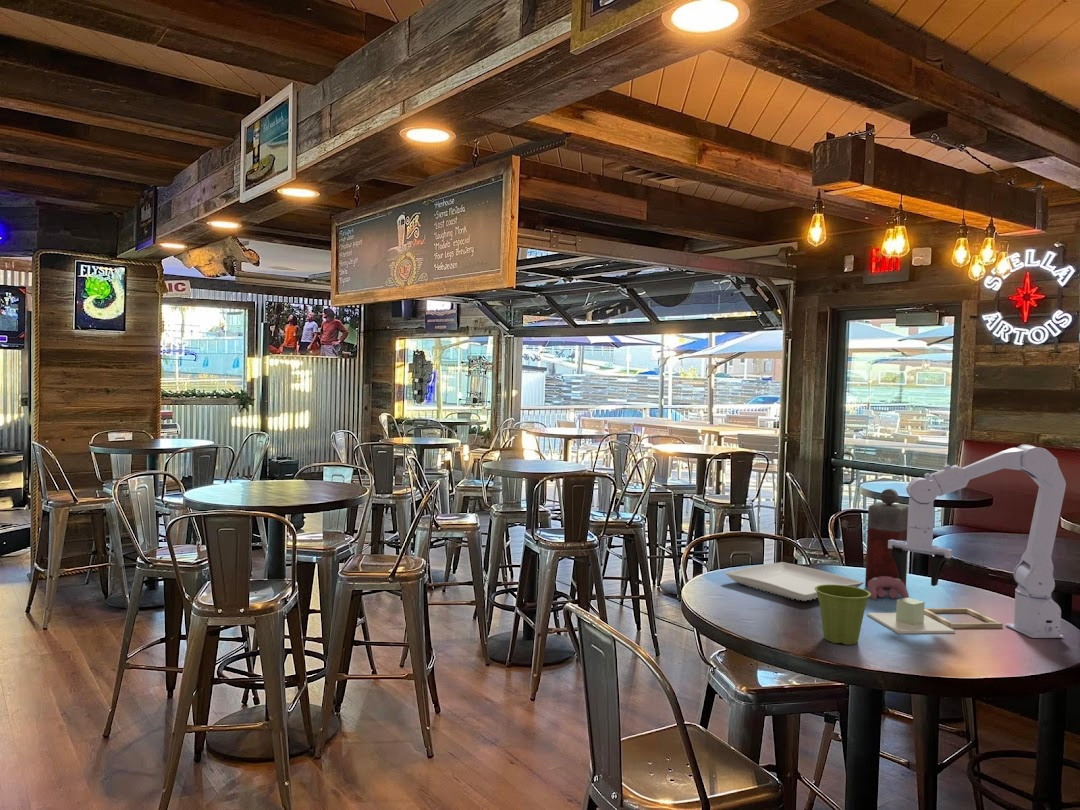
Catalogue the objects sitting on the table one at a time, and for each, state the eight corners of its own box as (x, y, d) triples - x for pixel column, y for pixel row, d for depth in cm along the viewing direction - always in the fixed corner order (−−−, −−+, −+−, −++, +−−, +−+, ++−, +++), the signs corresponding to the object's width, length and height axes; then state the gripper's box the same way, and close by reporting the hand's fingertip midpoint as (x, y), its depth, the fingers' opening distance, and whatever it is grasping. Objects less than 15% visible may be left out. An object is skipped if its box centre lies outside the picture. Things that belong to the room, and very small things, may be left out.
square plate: (805, 608, 204) (806, 593, 204) (722, 584, 226) (723, 571, 225) (864, 593, 220) (864, 579, 220) (781, 572, 242) (782, 559, 242)
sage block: (923, 622, 191) (924, 602, 191) (912, 625, 188) (913, 604, 188) (906, 617, 194) (907, 597, 194) (895, 620, 192) (896, 599, 192)
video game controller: (904, 604, 214) (901, 578, 217) (911, 601, 210) (907, 574, 213) (867, 602, 215) (864, 577, 218) (872, 599, 211) (869, 573, 214)
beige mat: (954, 633, 185) (954, 630, 185) (898, 633, 184) (898, 630, 184) (920, 614, 199) (920, 612, 199) (867, 615, 198) (867, 612, 198)
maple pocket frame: (1002, 627, 190) (1002, 623, 190) (951, 628, 189) (951, 624, 189) (967, 611, 203) (968, 607, 203) (920, 611, 202) (920, 608, 202)
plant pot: (876, 640, 179) (878, 590, 178) (857, 653, 170) (859, 601, 169) (825, 628, 186) (826, 580, 186) (804, 639, 178) (805, 590, 177)
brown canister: (908, 584, 229) (912, 488, 228) (898, 592, 220) (902, 492, 219) (876, 579, 235) (880, 485, 234) (864, 586, 226) (868, 488, 225)
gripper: (957, 529, 192) (955, 585, 192) (896, 520, 202) (894, 573, 203) (946, 533, 187) (944, 590, 188) (885, 524, 198) (883, 577, 198)
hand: (918, 581), depth 195 cm, fingers open, 7 cm apart
